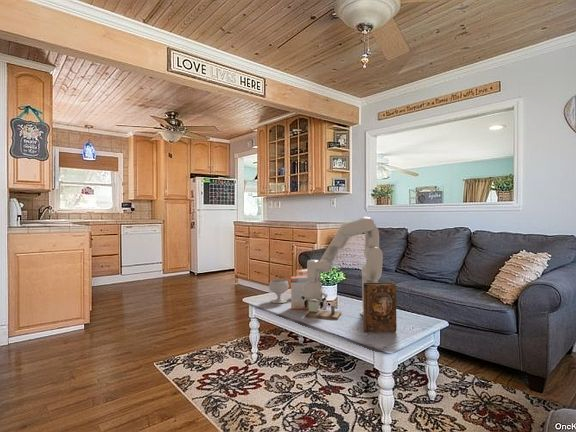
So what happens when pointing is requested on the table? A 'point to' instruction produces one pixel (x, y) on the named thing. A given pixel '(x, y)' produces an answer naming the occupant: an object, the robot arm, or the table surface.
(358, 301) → the table surface
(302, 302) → the cracker box
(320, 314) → the pin board
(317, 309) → the sleeve
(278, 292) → the chalice
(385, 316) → the book
